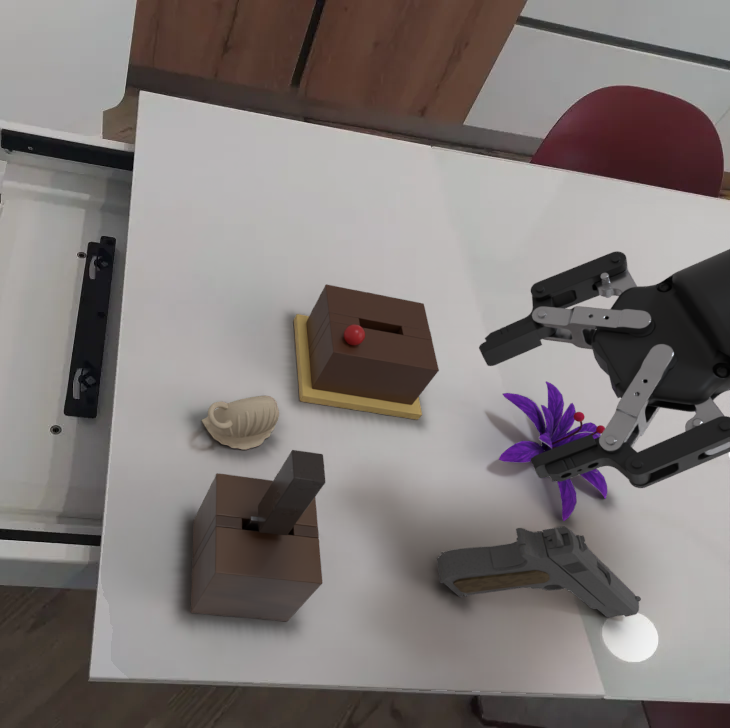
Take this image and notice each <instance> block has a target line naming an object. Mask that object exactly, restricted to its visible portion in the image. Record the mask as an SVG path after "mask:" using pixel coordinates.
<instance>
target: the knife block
mask: <svg viewBox="0 0 730 728" xmlns="http://www.w3.org/2000/svg"><path fill="white" fill-rule="evenodd" d="M272 482H273V480H271V479H264V478H255V477H250V476H249V477H248V476H240V475H232V474H226V473H216V474H215V475H214V478H213V480H212V482H211V485H210V486H209V488H208V489H207V492H206V493H205V496H204V499H203V500H202V503H200V504H201V505H200V507H199V508H198V510H197V512H196V514H195V516H194V518H193V529H192V531H193V532H192V533H193V534H192V561H191V569H192V570H191V589H190V590H191V591H190V592H191V593H190V595H191V596H190V613H191V614H201V615H212V616H224V617H235V618H244V619H245V618H247V619H257V620H267V621H268V620H269V621H280V622H281V621H282V622H289V621H290V619H291V618H293V616H295V614H296V613H297V612H298V611H299V610H300V609H301V608H302V607H303V606H304V604H305V603H306V602H307V601H308V600H309V599H310V598H311V597H312V596H313V595H314V593H315V592H316V591H317V590H318V589H319V588H320V587H322V584H323V573H322V561H321V547H320V539H319V538H320V536H319V535H320V534H319V524H318V512H317V501H316V497H315V498H314V499H313V500H312V502H311V503H310V505H309V506H308V507H307V509H306V510H305V511H304V513H303V514H302V516H301V517H300V518H299V520H298V521H297V522H296V524H295V525H294V526H293V528H292V529H291V531H290V532H289V533H288V535H278V534H270V533H261V532H259V531H250V530H243V529H244V527H245V526H246V524H247V523H248V521H249V519H250V518H251V516H252V517H258V505H259V503H260V501H261V500H262V498H263V497H264V495H265V493H266V492H267V490H268V488H269V487H270V485H271V484H272Z"/></svg>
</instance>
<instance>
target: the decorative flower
mask: <svg viewBox="0 0 730 728" xmlns="http://www.w3.org/2000/svg"><path fill="white" fill-rule="evenodd" d="M545 384H546V389H547V406H545V405H544V404H540V407H541V409H540V408H539V406H538V405H537V403H536V402H535V401H534V400H532V399H531V398H529V397H528V396H526V395H523V394H519V393H511V392H505V393H502V396H503V397H504V398H505V399H506V400H507V401H509V402H510V403H512V404H513V405H514V406H516V407H517V408H518V409H519V410H521V412H523V414H525V415H526V416H527V417H528V419H529V420H530V422H531V423H533V425H534V427H535V429H536V431H537V432H538V434H539V436H538V440H539V441H540V443H538V442H537V441H531V440H521V441H518V442H516V443H513V444H512V445H511V446H509V447H508V448H507V449H505V451H503V452H502V453H500V455H499V458H498V461H501V462H504V463H521V464H523V463H531V458H532V457H534V456H536V455H538V454H540V453H543V452H546V451H548V450H551V449H553V448H556V447H559V446H561V445H564V444H566V443H569V442H572V441H574V440H577V439H579V438H582V437H585V436H587V435H590V434H592V436H593V438H594V439H595V438H598V437H600V436H601V434H602V433H603V431H604V430H605V428H606V426H604V425H602V424H601V425H600V424H599V425H597V424H595V423H593V422H585V423H583V421H584V420H585V418H586V417H585V414H584V412H581V411H576V407H575V404H574V403H573V402H570V403H569V405H568V406H567V408H566V409H565V410H564V408H565V407H564V406H565V401H564V396H563V393H561V391H560V390H559V389H558V387H557V386H556V385H554V384H553V383H551V382H550V381H545ZM541 410H542V411H541ZM575 422H577V423H579V425H578V426H577V427H575V428H573V429H571V428H572V427H573V425H574V423H575ZM600 471H601V470H599V468H597V469H594V470H591V471H589V472H586V473H583V474H581V475H579V476H580V477H581V478H582V479H584V480H585V481H587V482H588V483H589V484H590V485H592V486H593V487H594V488H595V489H596V490H598V492H599V493H600V494H601V495H602V497H603V498H604V499H607V495H608V484H607V481H606V477H605V476H604V475H603V474H602V473H601V472H600ZM556 483H557V486H558V490H559V495H560V500H561V518H562V521H563V522H565V521H566V520H567V519H569V518H570V516H571V515H572V513H573V512H574V511H575V508H576V505H577V503H578V501H577V490H576V489H575V487H574V484H573V482H572V480H571V478H570V479H567V480H564V481H556Z"/></svg>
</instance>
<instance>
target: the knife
mask: <svg viewBox="0 0 730 728" xmlns="http://www.w3.org/2000/svg"><path fill="white" fill-rule="evenodd" d="M272 481H273V482H272V484H271V485H270V487H269V488H268V490H267V492H266V493H265V495H264V497H263V498H262V500H261V501H260V503H259V505H258V517H252V516H251V518H250V519H249V521H248V523H247V524H246V526H245V527H244V529H243V530H250V531H259V532H261V533H270V534H278V535H288V533H289V532H290V531H291V529H292V528H293V526H294V525H295V524H296V522H297V521H298V520H299V518H300V517H301V516H302V514H303V513H304V511H305V510H306V509H307V507H308V506H309V505H310V503H311V502H312V500H313V499H314V498H316V497H317V495H318V494H319V492H320V491H321V490H322V489H323V487H324V485H325V484H326V473H325V460H324V454H323V453H318V452H310V451H303V450H297V449H292V450H291V451H290V453H289V454H288V456H287V458H286V459H285V461H284V462H283V464H282V466H281V467H280V469H279V471H278V472H277V473H276V476H275V477H274V479H273V480H272Z"/></svg>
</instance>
